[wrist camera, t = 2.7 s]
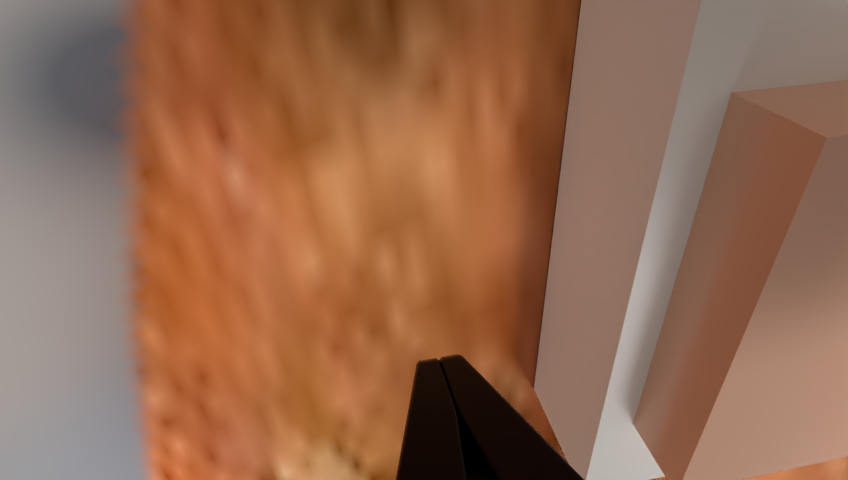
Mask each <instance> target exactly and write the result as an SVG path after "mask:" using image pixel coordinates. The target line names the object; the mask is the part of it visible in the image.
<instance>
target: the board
mask: <svg viewBox="0 0 848 480" xmlns="http://www.w3.org/2000/svg"><path fill="white" fill-rule="evenodd" d="M842 80H848V0H581V8H580V16H579V24H578V32H577V41H576V49H575V57H574V65H573V73H572V81H571V90H570V98H569V106H568V114H567V122H566V130H565V139H564V147H563V155H562V163H561V171H560V179H559V188H558V196H557V204H556V212H555V220H554V228H553V237H552V245H551V253H550V261H549V269H548V277H547V285H546V294H545V302H544V310H543V318H542V326H541V334H540V343H539V351H538V359H537V367H536V375H535V383H534V391H535V393H536V395H537V397H538V399H539V401H540V404H541V406H542V408H543V410H544V412H545V414H546V416H547V419H548V421H549V423H550V425H551V427H552V429H553V432H554V434H555V436H556V438H557V440H558V442H559V444H560V447H561V449H562V451H563V453H564V455H565V457H566V459H567V462H568V464H569V465H570V466H571V467H572V468H573V469H574V470H575V471H576V472H577V473H578V474H579V475H580V476H581V477H582V478H583V479H584V480H650V479H654V478H659V477H663V476H665V475H664V474H663V472H662V470H661V469H660V467H659V466H658V464H657V462H656V461H655V459H654V458H653V456H652V454H651V453H650V451H649V450H648V448H647V446H646V445H645V443H644V441H643V440H642V438H641V437H640V435H639V433H638V432H637V430H636V429H635V427H634V425H633V421H634V418H635V415H636V411H637V408H638V405H639V401H640V398H641V395H642V391H643V388H644V384H645V381H646V378H647V374H648V371H649V368H650V364H651V361H652V358H653V354H654V351H655V347H656V344H657V341H658V337H659V334H660V331H661V327H662V324H663V321H664V317H665V314H666V311H667V307H668V304H669V300H670V297H671V294H672V290H673V287H674V284H675V280H676V277H677V274H678V270H679V267H680V263H681V260H682V257H683V253H684V250H685V247H686V243H687V240H688V237H689V233H690V230H691V227H692V223H693V220H694V216H695V213H696V210H697V206H698V203H699V200H700V196H701V193H702V190H703V186H704V183H705V179H706V176H707V173H708V169H709V166H710V163H711V159H712V156H713V153H714V149H715V146H716V143H717V139H718V136H719V132H720V129H721V126H722V122H723V119H724V116H725V112H726V109H727V106H728V102H729V99H730V95H731V92H740V91H749V90H758V89H768V88H777V87H786V86H795V85H805V84H814V83H823V82H832V81H842Z"/></svg>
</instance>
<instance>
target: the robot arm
mask: <svg viewBox="0 0 848 480" xmlns="http://www.w3.org/2000/svg"><path fill="white" fill-rule="evenodd" d="M396 480H584V479H583V478H582V477H581V476H580V475H579V474H578V473H577V472H576V471H575V470H574V469H573V468H572V467H571V466H570V465H569V464H568V463H567V462H566V461H565V460H564V459H563V458H562V457H561V456H560V454H559V453H558V452H557V451H556V450H555V449H554V448H553V447H552V446H551V445H550V444H549V443H548V442H547V441H546V440H545V439H544V438H543V437H542V436H541V435H540V434H539V433H538V432H537V431H536V430H535V429H534V428H533V427H532V426H531V425H530V424H529V423H528V422H527V421H526V420H525V419H524V418H523V417H522V416H521V415H520V414H519V413H518V412H517V411H516V410H515V409H514V408H513V407H512V406H511V405H510V404H509V403H508V402H507V401H506V400H505V399H504V398H503V397H502V396H501V395H500V394H499V393H498V392H497V391H496V390H495V389H494V388H493V387H492V386H491V385H490V384H489V383H488V382H487V381H486V380H485V379H484V378H483V377H482V376H481V375H480V374H479V373H478V371H477V370H476V369H475V368H474V367H473V366H472V365H471V364H470V363H469V362H468V361H467V360H466V359H465V358H464V357H463V356H461V355H452V356H446V357H442V358H440V360H438V359H436V358H434V359H428V360H422V361H419V362H418V363H417V366H416V371H415V377H414V382H413V388H412V393H411V399H410V404H409V410H408V415H407V421H406V426H405V432H404V437H403V443H402V448H401V454H400V459H399V465H398V470H397V476H396Z"/></svg>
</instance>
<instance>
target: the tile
mask: <svg viewBox="0 0 848 480" xmlns="http://www.w3.org/2000/svg"><path fill="white" fill-rule="evenodd" d="M633 425H634V427H635V429H636V430H637V432H638V433H639V435H640V437H641V438H642V440H643V441H644V443H645V445H646V446H647V448H648V450H649V451H650V453H651V454H652V456H653V458H654V459H655V461H656V462H657V464H658V466H659V467H660V469H661V470H662V472H663V474H664V475H665V477H666V479H667V480H744V479H748V478H753V477H757V476H762V475H766V474H771V473H775V472H780V471H784V470H789V469H793V468H798V467H802V466H807V465H811V464H816V463H820V462H825V461H829V460H834V459H838V458H843V457H847V456H848V80H842V81H832V82H823V83H814V84H805V85H795V86H786V87H777V88H768V89H758V90H749V91H740V92H731V95H730V99H729V102H728V106H727V109H726V112H725V116H724V119H723V122H722V126H721V129H720V132H719V136H718V139H717V143H716V146H715V149H714V153H713V156H712V159H711V163H710V166H709V169H708V173H707V176H706V179H705V183H704V186H703V190H702V193H701V196H700V200H699V203H698V206H697V210H696V213H695V216H694V220H693V223H692V227H691V230H690V233H689V237H688V240H687V243H686V247H685V250H684V253H683V257H682V260H681V263H680V267H679V270H678V274H677V277H676V280H675V284H674V287H673V290H672V294H671V297H670V300H669V304H668V307H667V311H666V314H665V317H664V321H663V324H662V327H661V331H660V334H659V337H658V341H657V344H656V347H655V351H654V354H653V358H652V361H651V364H650V368H649V371H648V374H647V378H646V381H645V384H644V388H643V391H642V395H641V398H640V401H639V405H638V408H637V411H636V415H635V418H634V421H633Z"/></svg>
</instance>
